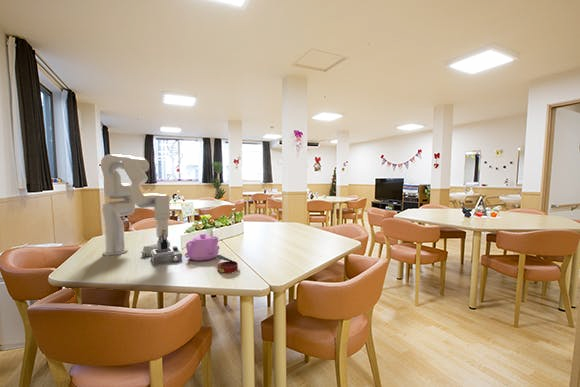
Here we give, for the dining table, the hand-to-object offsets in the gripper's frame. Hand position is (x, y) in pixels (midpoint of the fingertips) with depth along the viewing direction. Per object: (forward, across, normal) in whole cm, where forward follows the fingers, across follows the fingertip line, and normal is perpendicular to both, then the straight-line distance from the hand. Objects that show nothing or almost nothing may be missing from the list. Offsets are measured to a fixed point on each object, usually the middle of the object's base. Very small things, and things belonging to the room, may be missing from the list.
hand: (163, 247), depth 142 cm
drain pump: (+3, 0, 0) cm, 3 cm away
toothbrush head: (+8, -22, -1) cm, 23 cm away
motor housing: (+7, +1, +1) cm, 8 cm away
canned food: (+8, +35, +24) cm, 43 cm away
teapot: (+8, +10, +20) cm, 24 cm away
